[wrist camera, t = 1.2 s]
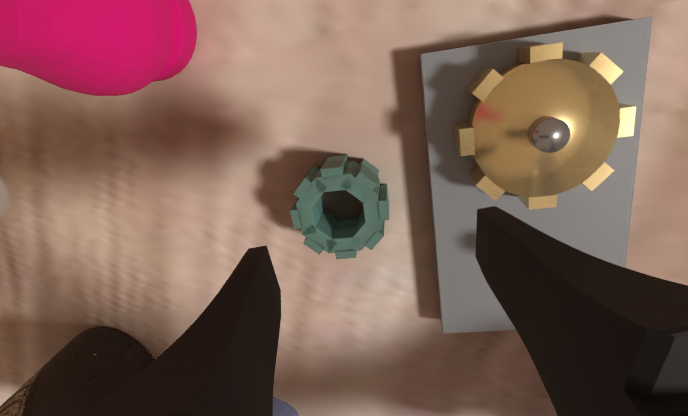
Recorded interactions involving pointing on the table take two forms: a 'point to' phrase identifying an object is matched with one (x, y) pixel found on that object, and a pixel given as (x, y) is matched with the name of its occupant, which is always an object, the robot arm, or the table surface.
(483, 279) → the gear board
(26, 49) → the pepper mill
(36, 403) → the container
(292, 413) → the toy pieces
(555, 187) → the brass gear
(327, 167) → the loose gear
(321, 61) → the table surface
